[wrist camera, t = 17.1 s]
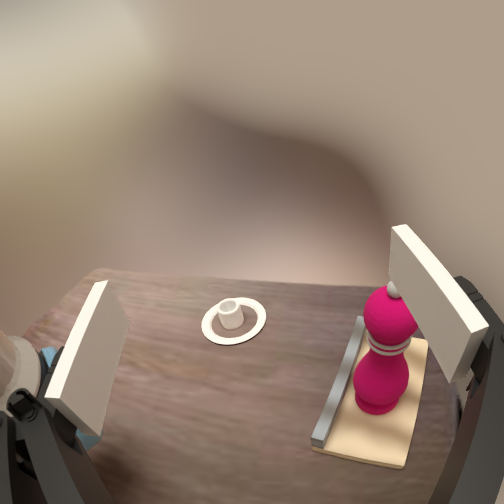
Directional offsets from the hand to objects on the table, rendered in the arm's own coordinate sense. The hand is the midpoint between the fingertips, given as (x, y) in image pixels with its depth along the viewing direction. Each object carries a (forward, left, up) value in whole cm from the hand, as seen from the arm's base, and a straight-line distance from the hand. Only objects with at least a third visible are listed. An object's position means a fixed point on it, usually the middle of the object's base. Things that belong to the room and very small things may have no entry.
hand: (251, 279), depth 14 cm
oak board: (+15, -6, -32) cm, 36 cm away
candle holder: (+23, +22, -33) cm, 46 cm away
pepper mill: (+14, -6, -31) cm, 34 cm away
